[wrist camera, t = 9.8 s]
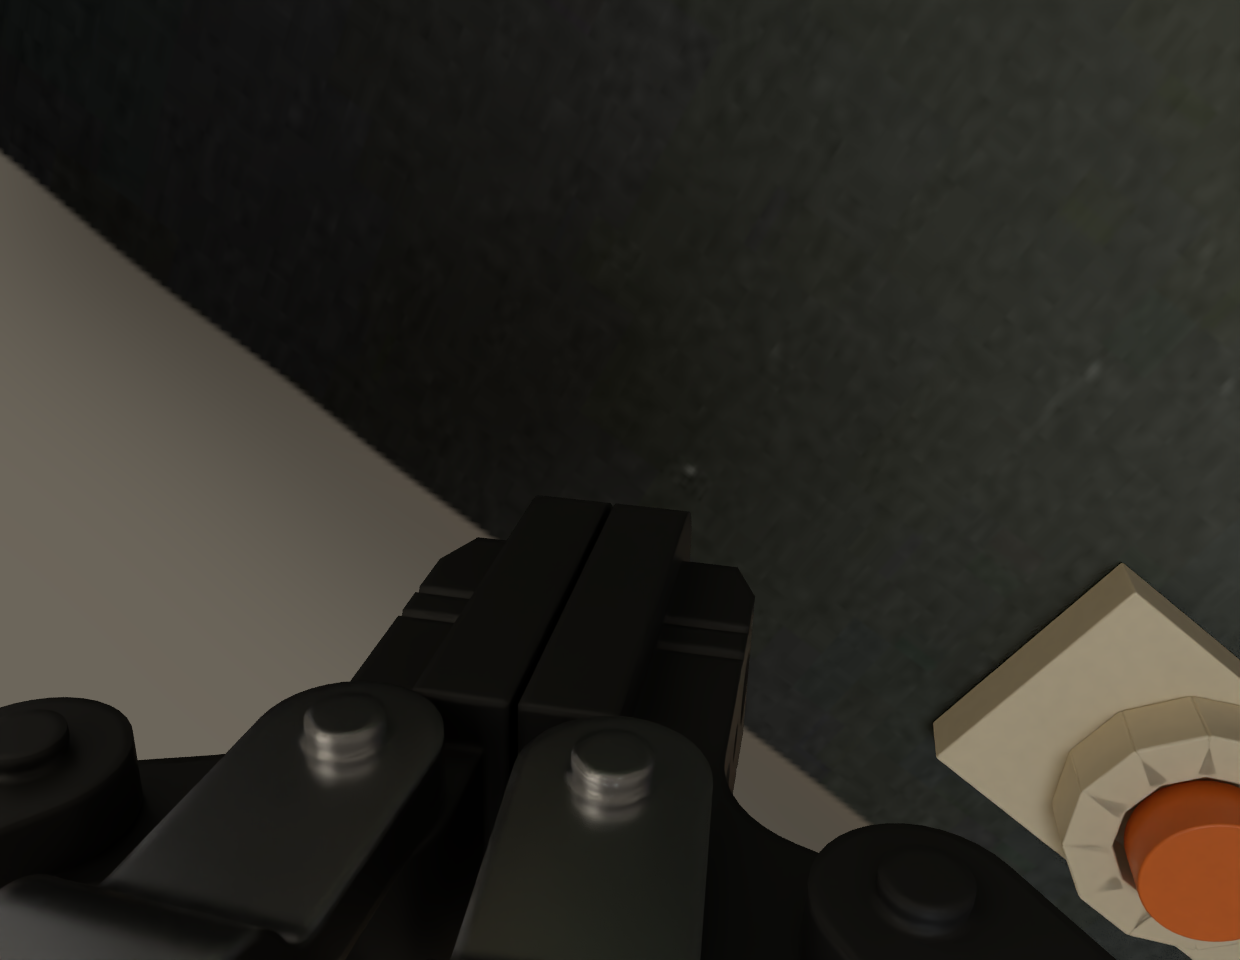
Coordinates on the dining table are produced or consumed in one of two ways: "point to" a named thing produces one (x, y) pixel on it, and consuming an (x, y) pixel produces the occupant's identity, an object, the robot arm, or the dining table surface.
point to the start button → (1189, 858)
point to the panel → (1102, 735)
